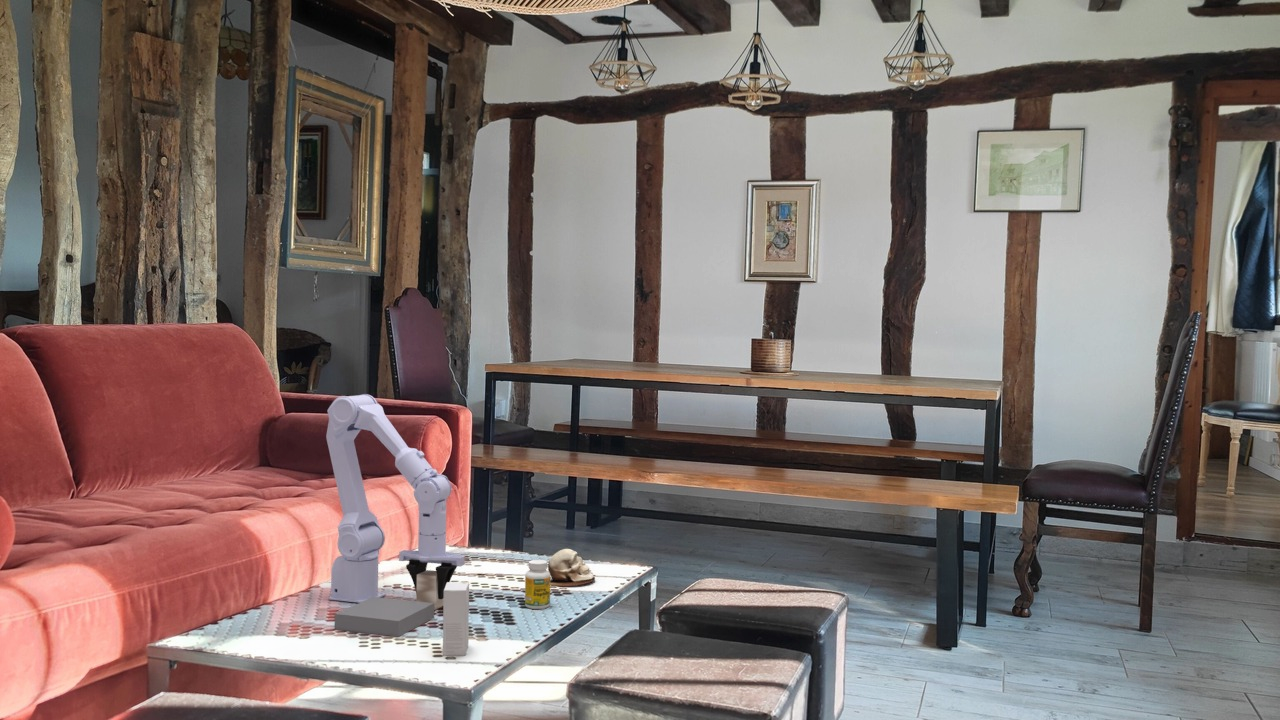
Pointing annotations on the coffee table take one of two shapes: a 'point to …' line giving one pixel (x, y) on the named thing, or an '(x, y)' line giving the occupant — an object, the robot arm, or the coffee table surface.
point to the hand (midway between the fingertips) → (431, 596)
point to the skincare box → (455, 618)
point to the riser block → (384, 616)
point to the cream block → (428, 588)
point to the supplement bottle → (537, 585)
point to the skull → (568, 569)
